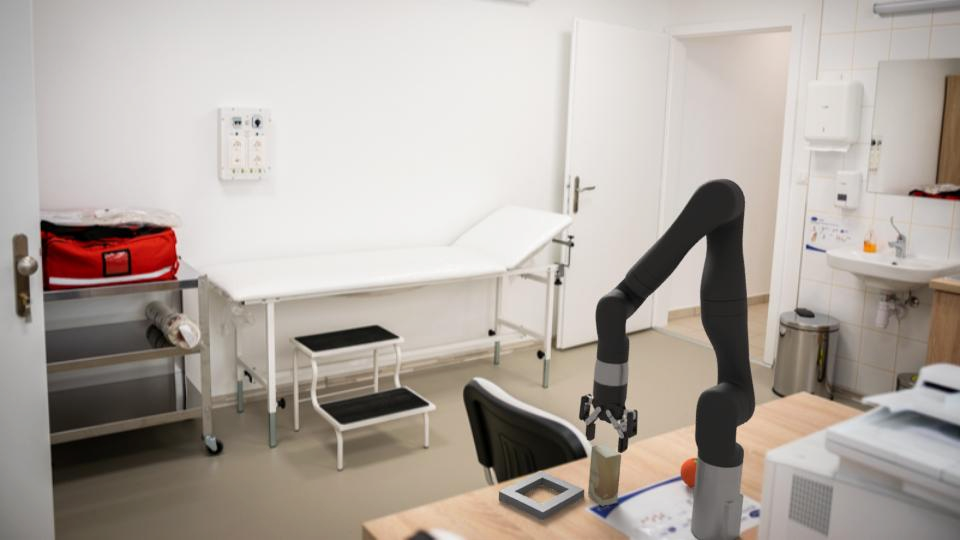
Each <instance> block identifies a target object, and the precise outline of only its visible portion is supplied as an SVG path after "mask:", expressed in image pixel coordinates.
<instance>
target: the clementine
mask: <svg viewBox="0 0 960 540" xmlns="http://www.w3.org/2000/svg"><path fill="white" fill-rule="evenodd" d="M696 466H697V457H691V458H689V459H687V460H685V461H684V462H683V463H682V465H681V467H680V471H679V472H680V473H679V474H680V477H681V480H682V481H683V483H685V485H687V486H688V487H690V488H693V489H694V488H695V476H696Z"/></svg>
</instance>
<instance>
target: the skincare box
mask: <svg viewBox="0 0 960 540" xmlns="http://www.w3.org/2000/svg"><path fill="white" fill-rule="evenodd" d="M589 463H590V464H589V465H590V466H589V477H588V478H589V479H588V489H587V490H588V491H587V494H588V496H590V498H592V499H593V500H594V501H595V502H596V503H597V504H599V505H600V506H601V507H605V505H606V506H609V505H613V504H614V503H615V504H618V497H619V485H620V475H621V474H620V473H621V463H622V453H619V452H618V450H616V449H614V448H613V447H612V446H610V445H609V444H607V443H604V444H598V445H594V446H593V445H592V446H591V454H590V462H589Z"/></svg>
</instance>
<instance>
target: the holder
mask: <svg viewBox="0 0 960 540" xmlns="http://www.w3.org/2000/svg"><path fill="white" fill-rule="evenodd" d="M540 485H541V486H543V485H544V487H545V486H546V487H545V488H547V487H548V489H550V488H551V489H550V490H552V489H553V490H552V491H554V490H555V491H554V492H556V491H557V492H556V493H559V494H558V495H555V496H554V497H551V498H550V499H549V500H546V501H544V502H542V503H541V502H539V501H536V500H534V499H532V498H530V497H528V496H526V494H527V492H528V493H529V492H531V491H533V490H535V489H537V488H539V487H541V486H540ZM538 486H539V487H538ZM536 487H537V488H536ZM534 488H535V489H534ZM532 489H533V490H532ZM530 490H531V491H530ZM525 493H526V494H525ZM523 494H524V495H523ZM583 497H584V498H585V489H584V488H583V487H580V486H578V485H576V484H573V483H570V482H568V481H566V480H564V479H561V478H559V477H557V476H554V475H552V474H550V473H548V472H545V471H544V470H539V471H537V472H535V473H533V474H531V475H529V476H527V477H525V478H523V479H521V480H519V481H517V482H514V483H513V484H511V485H509V486H507V487H505V488H503V489H500V490H499V491H498V500H500V501H502V502H504V503H506V504H508V505H510V506H512V507H514V508H516V509H518V510H520V511H521V512H522V511H523V512H525V513H526V514H528V515H530V516H532V517H535V518H537V519H539V520H541V521H545V520H546V519H549V518H550V517H551V516H554V515H555V514H558V513H559V512H561V511H563V510H564V509H565V508H568V507H570V506H571V505H573V504H575V503H576V501H577V502H578V501H580V500H581V498H582V499H583Z"/></svg>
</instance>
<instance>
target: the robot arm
mask: <svg viewBox="0 0 960 540" xmlns="http://www.w3.org/2000/svg"><path fill="white" fill-rule="evenodd" d="M745 212H746V197H745V195H744V191H743V189H742V188H741V187H740V186H739V184H737V182H735V181H734V180H731V179H727V178H717V179H710V180H707V181H704V182H703V183H701V184H700V185H699V186H698V187H697V188H696V189H695V191H694V192H693V193H692V196H691V197H690V198H689V200H688V201H687V202H686V204H685V206H684V207H683V209H682V210H681V212H680V213H679V215H678V216H677V217H676V218H675V220H674V221H673V222H672V224H671V225H670V226H669V228H668V229H667V230H666V231H665V232H664V233H663V234H662V235H661V236H660V238H659V239H658V240H657V241H656V242H655V243H653V245H652V246H651V247H650V248H648V250H647V251H646V252H645V253H644V254H643V255H642V256H641V257H640V258H639V259H638V260H637V261H636V262H635V263H634V264H633V265H632V267H631V268H629V270H628V271H627V272H626V274H625V277H624V278H623V279H622V280H621V281H620V282H619V283H618V284H617V285H616V286H615V287H614V288H613V289H612V290H611V291H610V292H608V293H606V294H605V295H603V296H602V297H601V298H599V300H598V301H597V304H596V306H595V307H596V309H595V315H594V316H595V317H594V319H595V325H596V326H595V327H596V329H595V330H596V336H597V344H596V345H597V346H596V347H597V349H596V359H595V363H594V372H593V373H594V374H593V386H592V394H591V393H587V394H584V395H582V396H581V398H580V405H579V413H578V419H579V420H580V421H583V422H584V424H585V438H586V440H587V441H589V442H591V441H593V440H595V438H596V428H597V427H596V425H597V424H596V421H598V419H599V420H600V421H602V422H603V421H604V422H606V423H608V424H610V425H612V427H613V428H614V430H616V432H617V434H618V436H619V437H618V441H617V443H618V444H617V452H618V453H620V454H623V453H625V452H626V451H627V450H628V447H629V439H631V438H633V437H636V436H637V435H638V418H639V416H638V415H639V412H638V410H637V409H627V407H626V401H627V398H628V396H627V395H628V382H629V368H630V367H629V357H630V356H629V355H630V338H629V336H628V335H627V320H628V319H630V318H631V317H632V316H633V315H634V314H635V313H636V312H637V311H638V310H639V309H640V308H641V306H642V305H643V304H644V302H646V300H647V299H648V298H649V296H651V295H652V294H654V293H655V291H657V290H659V289H658V288H660V286H661V285H662V284H664V283H665V282H666V280H667V279H669V278H670V276H671V275H672V274H673V273H674V272H675V270H676V269H678V267H679V265H680V263H681V262H682V261H683V259H684V258H685V257H686V256H687V254H688V253H689V252H690V251H691V250H692V249H693V248H694V247H695V246H696V244H697V243H699V242H700V241H701V240H702V239H703V238H705V237H706V238H705V239H706V249H705V250H706V252H705V258H704V259H705V260H704V263H703V267H702V268H703V269H702V273H701V280H700V289H699V301H700V302H699V304H700V318H701V319H700V320H701V324H702V327H703V330H704V332H705V335H706V336H707V338H708V341H709V342H710V345H711V346H712V348H713V350H714V353H715V358H716V365H717V384H716V385H714V386H712V387H709V388H707V389H705V390H703V392H701V394H699V397H698V400H697V403H696V407H695V423H694V424H695V425H694V426H695V430H694V431H695V432H694V440H695V444H696V445H695V446H696V448H697V456H696V458H697V466H696V476H695V488H693V490H694V491H693V500H692V512H691V513H692V514H691V521H690V522H691V523H690V531H691V533H692V534H693V535H694V536H695V537H696V538H698V539H699V540H736V539H737V538H738V537H740V535H741V533H740V532H741V527H742V526H741V524H742V523H741V522H742V515H743V505H744V494H742V493H741V487H742V486H741V485H742V475H743V466H744V459H745V450H744V448H743V446H742V445H741V444H740V443H738V442H737V428H738V427H740V426H742V425H744V424H745V423H748V422H749V421H750V420H751V419H752V418H753V416H754V413H755V410H756V396H755V395H756V393H755V389H754V382H753V376H752V370H751V369H752V368H751V363H750V362H751V361H750V344H749V343H750V341H749V338H750V337H749V328H748V327H749V324H748V323H749V321H748V320H749V319H748V318H749V316H748V315H749V313H748V312H749V310H748V308H749V307H748V291H747V280H746V279H747V278H746V266H745V265H746V264H745V260H744V259H745V258H744V257H745V256H744V247H743V246H744V244H743V242H744V239H743V238H744V224H745ZM591 405H592V407H593V409H594V410H593V411H592V412H591ZM590 412H591V413H590Z"/></svg>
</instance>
